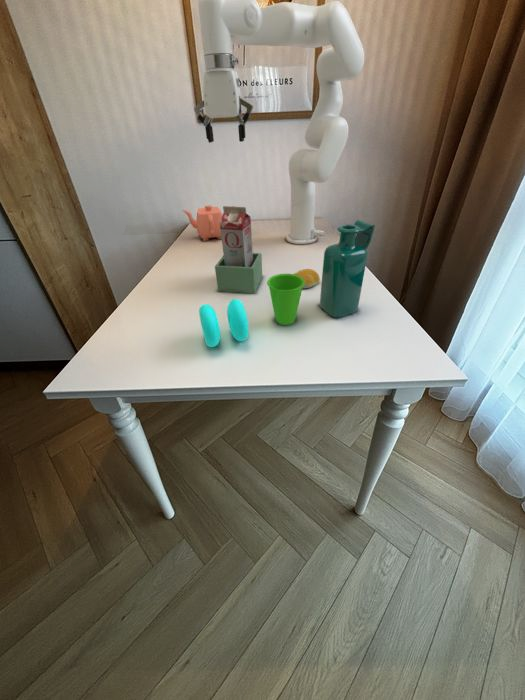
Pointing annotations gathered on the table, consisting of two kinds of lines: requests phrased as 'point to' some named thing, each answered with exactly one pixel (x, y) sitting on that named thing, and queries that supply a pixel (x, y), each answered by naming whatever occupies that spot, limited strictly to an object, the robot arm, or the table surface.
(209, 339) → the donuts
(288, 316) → the cup
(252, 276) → the bin
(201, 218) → the teapot
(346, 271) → the pitcher
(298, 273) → the bread roll
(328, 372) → the table surface
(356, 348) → the table surface
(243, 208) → the juice carton
